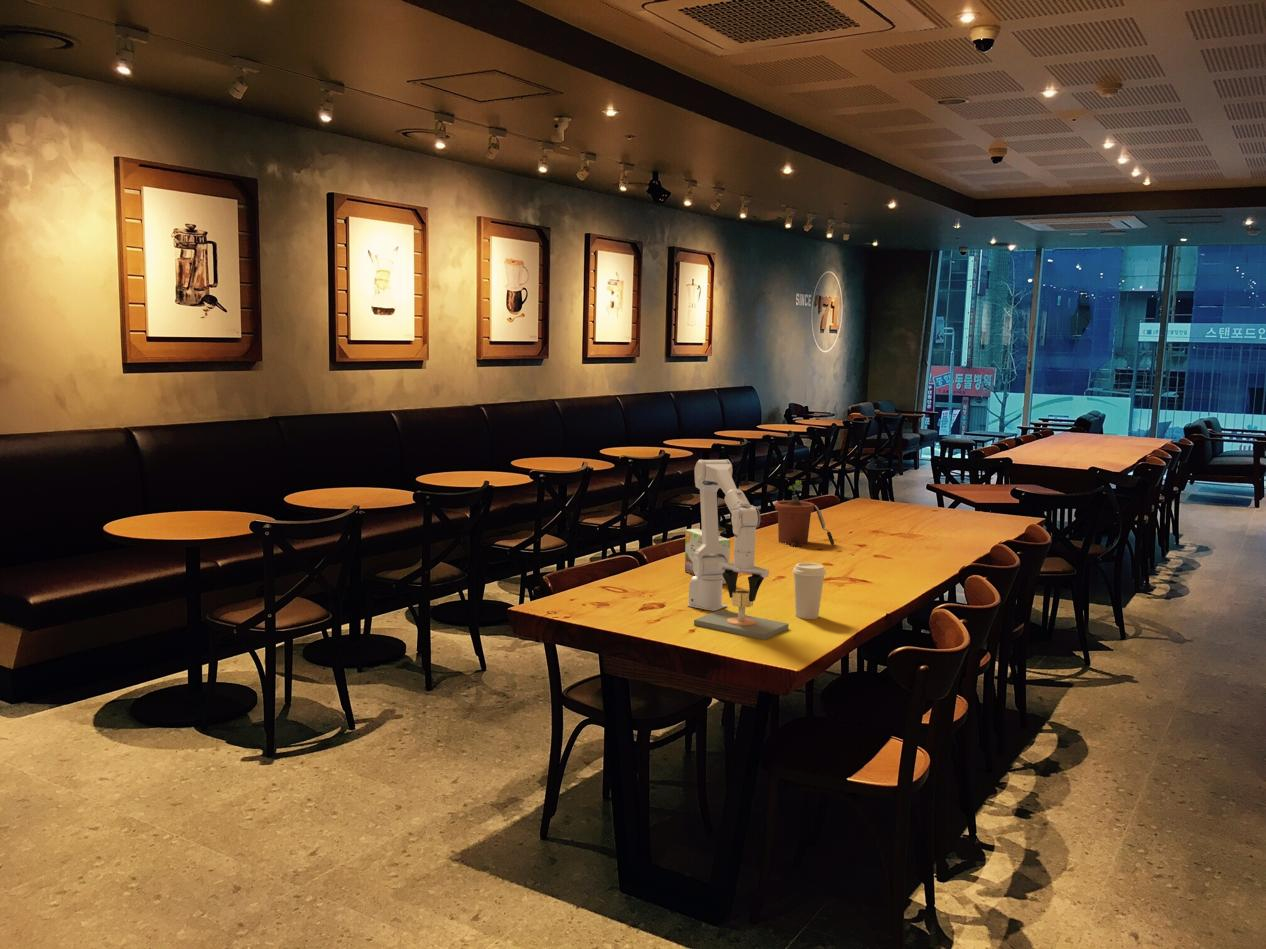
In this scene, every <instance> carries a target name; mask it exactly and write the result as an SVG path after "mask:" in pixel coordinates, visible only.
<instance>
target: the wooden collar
mask: <svg viewBox="0 0 1266 949" xmlns="http://www.w3.org/2000/svg"><path fill="white" fill-rule="evenodd" d="M731 605H732V606H733V607H737V608H739V607H745V608H751V607H753V606H754V601H752V602H750V601H749V590H748V589H736V590H734V591H732V598H731Z"/></svg>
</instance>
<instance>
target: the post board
mask: <svg viewBox="0 0 1266 949" xmlns="http://www.w3.org/2000/svg"><path fill="white" fill-rule="evenodd" d="M693 625H694V626H696V627H701V628H706V629H711V630H716V631H720V632H725V633H730V634H735V635H739V636H744V637H749V638H754V639H759V640H763V641H765V640H767V639H769V638H772V637H773V636H776V635H779V634H780V633H783V632H785V631H787V630H789V623H786V622H783V621H778V620H772V619H768V618H761V617H756V616H752V615H747V614H746V607H738V613H736V612H731V611H728V610H721V609H719V610H716V611H712V612H711V613H709V614H705V615H703V616H701V617H698V618H695V619H694V620H693Z"/></svg>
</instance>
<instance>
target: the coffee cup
mask: <svg viewBox="0 0 1266 949" xmlns="http://www.w3.org/2000/svg"><path fill="white" fill-rule="evenodd" d="M791 572H792V573H793V578H794V605H795V606H794V609H795V611H794V612H795V617H797V618H798V619H803V620H815V619H818V618H819V614H820V607H821V600H822V592H823V587H824V580H825V576H826V575H827V573H826V570H825V568H824V565H822V564H819V563H813V562H798V563H796V564H795V565H794V568H793V569H792V571H791Z"/></svg>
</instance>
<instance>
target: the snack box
mask: <svg viewBox="0 0 1266 949" xmlns="http://www.w3.org/2000/svg"><path fill="white" fill-rule="evenodd" d="M684 537H685V539H684V540H685V541H684V542H685V546H684V548H685V550H684V551H685V552H684V554H685V555H684V557H685V558H684V572H685V573H687V572H688V574H690V575H692V576H694V575H695V574H694V572H693V559H694V552H695V551H696V550H697V549H698V548H699V547H700V546H701V545H702V529H700V528H688V529H685V536H684ZM719 545H720V546H721V547H723V548H724V549H725V550H726V551H727V556H728V560H729V563H731V560H730V558H731V539H729V538H727V537H723V536H721V535H719ZM716 555H717V554H705V555H703V556H716ZM722 585H727V584H726V581H725V579H723V582H722Z"/></svg>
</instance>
